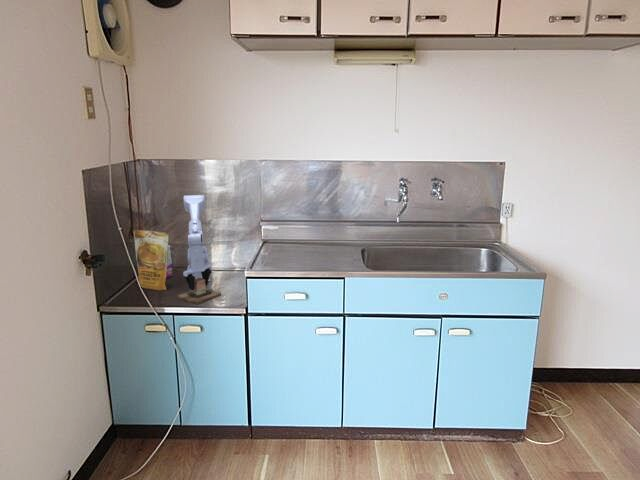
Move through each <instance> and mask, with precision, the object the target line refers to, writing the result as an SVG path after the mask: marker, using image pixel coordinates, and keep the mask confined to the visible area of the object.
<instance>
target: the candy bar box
mask: <svg viewBox="0 0 640 480" xmlns="http://www.w3.org/2000/svg"><path fill="white" fill-rule="evenodd" d="M171 247H172V246H171V245H169V244H168V257H167V268H166V279H168V278H171V277H174V269H173V268H174V267H173V260H172V248H171Z"/></svg>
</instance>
